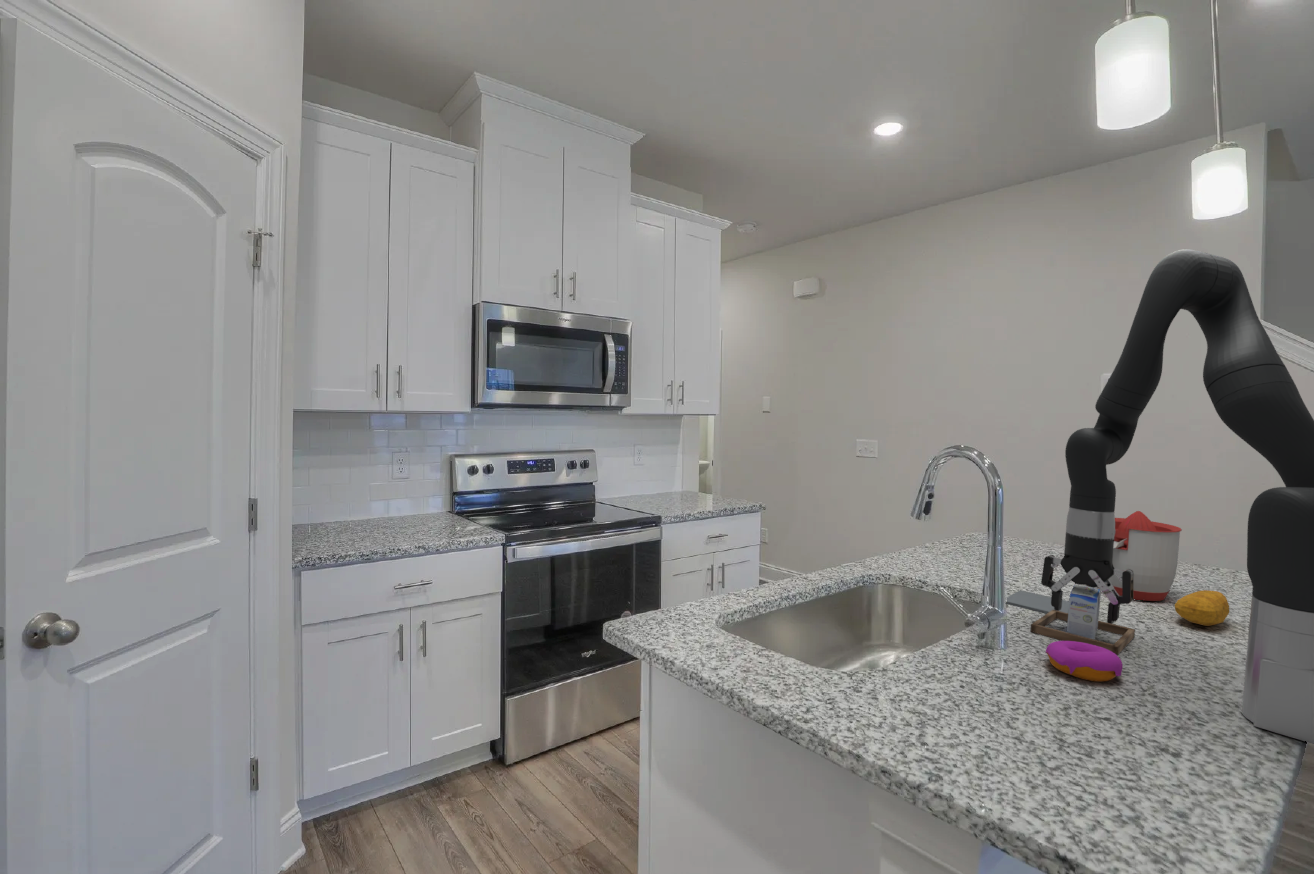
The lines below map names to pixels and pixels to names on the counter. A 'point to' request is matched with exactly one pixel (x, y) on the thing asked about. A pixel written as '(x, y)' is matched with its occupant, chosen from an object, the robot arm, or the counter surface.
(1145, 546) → the citrus juicer
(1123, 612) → the counter surface
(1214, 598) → the potato
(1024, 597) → the slate mat
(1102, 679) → the donut
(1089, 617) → the medicine box
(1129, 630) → the walnut cradle
